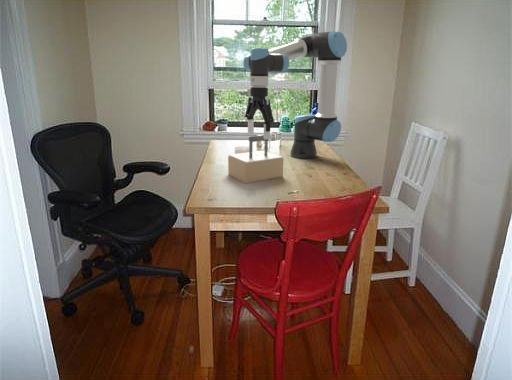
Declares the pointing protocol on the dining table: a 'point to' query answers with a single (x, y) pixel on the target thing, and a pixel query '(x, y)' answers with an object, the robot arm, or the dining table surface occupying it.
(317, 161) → the dining table surface
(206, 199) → the dining table surface
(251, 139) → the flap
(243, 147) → the white cup
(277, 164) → the cabinet
